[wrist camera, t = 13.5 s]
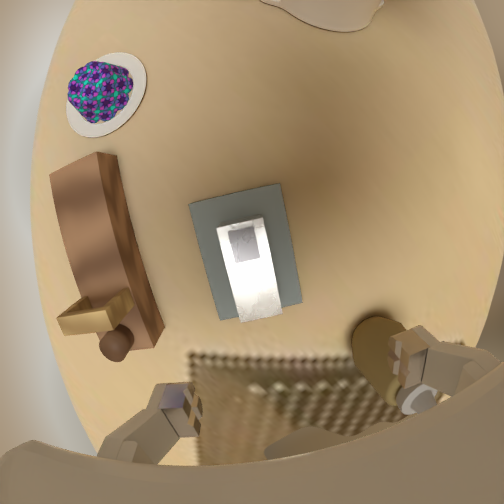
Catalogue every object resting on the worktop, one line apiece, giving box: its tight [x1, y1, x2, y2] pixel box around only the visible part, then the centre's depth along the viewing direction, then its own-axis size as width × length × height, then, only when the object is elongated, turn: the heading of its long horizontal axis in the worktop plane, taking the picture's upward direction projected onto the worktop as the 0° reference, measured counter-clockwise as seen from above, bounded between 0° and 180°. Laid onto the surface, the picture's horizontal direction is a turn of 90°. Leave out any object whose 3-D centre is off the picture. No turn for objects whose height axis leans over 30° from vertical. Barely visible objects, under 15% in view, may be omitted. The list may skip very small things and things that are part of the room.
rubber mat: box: [189, 183, 302, 320], centre depth 30 cm, size 14×10×1 cm
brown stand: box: [49, 152, 165, 362], centre depth 25 cm, size 22×7×11 cm, turn 12°
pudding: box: [66, 52, 146, 138], centre depth 23 cm, size 12×12×5 cm
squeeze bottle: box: [352, 316, 437, 414], centre depth 25 cm, size 8×8×18 cm
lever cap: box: [216, 214, 283, 323], centre depth 28 cm, size 10×4×5 cm, turn 12°
